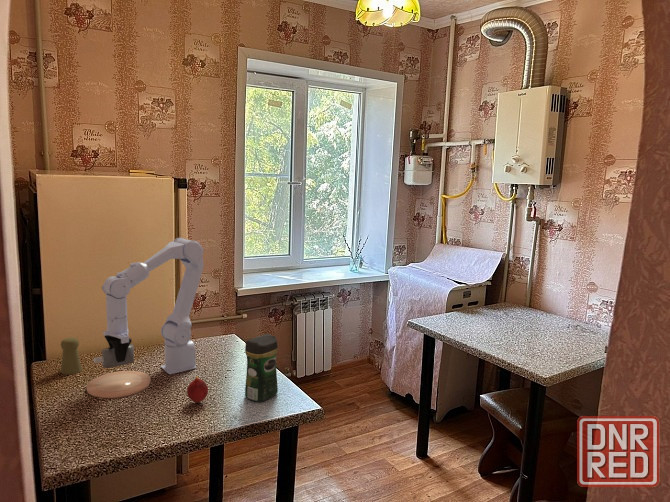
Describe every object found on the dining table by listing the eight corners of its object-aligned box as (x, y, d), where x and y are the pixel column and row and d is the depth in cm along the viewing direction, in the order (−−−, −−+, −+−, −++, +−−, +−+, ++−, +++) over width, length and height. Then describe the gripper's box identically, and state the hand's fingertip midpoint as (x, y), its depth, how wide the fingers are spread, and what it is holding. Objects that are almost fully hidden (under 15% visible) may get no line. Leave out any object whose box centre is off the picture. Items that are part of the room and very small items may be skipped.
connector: (131, 358, 151) (131, 343, 151) (135, 362, 148) (135, 346, 148) (92, 366, 144) (92, 350, 143) (96, 370, 141) (95, 354, 140)
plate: (139, 368, 161) (138, 366, 161) (159, 387, 147) (159, 384, 147) (79, 382, 149) (79, 379, 149) (96, 404, 136) (96, 401, 135)
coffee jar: (263, 386, 151) (264, 329, 148) (281, 394, 146) (282, 335, 143) (239, 397, 143) (240, 337, 140) (258, 405, 138) (259, 344, 135)
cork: (72, 375, 154) (70, 342, 152) (56, 373, 155) (54, 340, 153) (85, 368, 159) (84, 336, 158) (70, 366, 161) (68, 334, 159)
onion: (212, 400, 140) (211, 374, 139) (200, 409, 135) (200, 382, 134) (195, 396, 142) (194, 371, 141) (183, 405, 137) (182, 378, 136)
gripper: (96, 312, 148) (97, 354, 150) (110, 324, 137) (112, 369, 139) (120, 309, 152) (121, 350, 154) (135, 320, 141) (137, 364, 143)
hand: (118, 359), depth 147 cm, fingers closed on connector, 4 cm apart
